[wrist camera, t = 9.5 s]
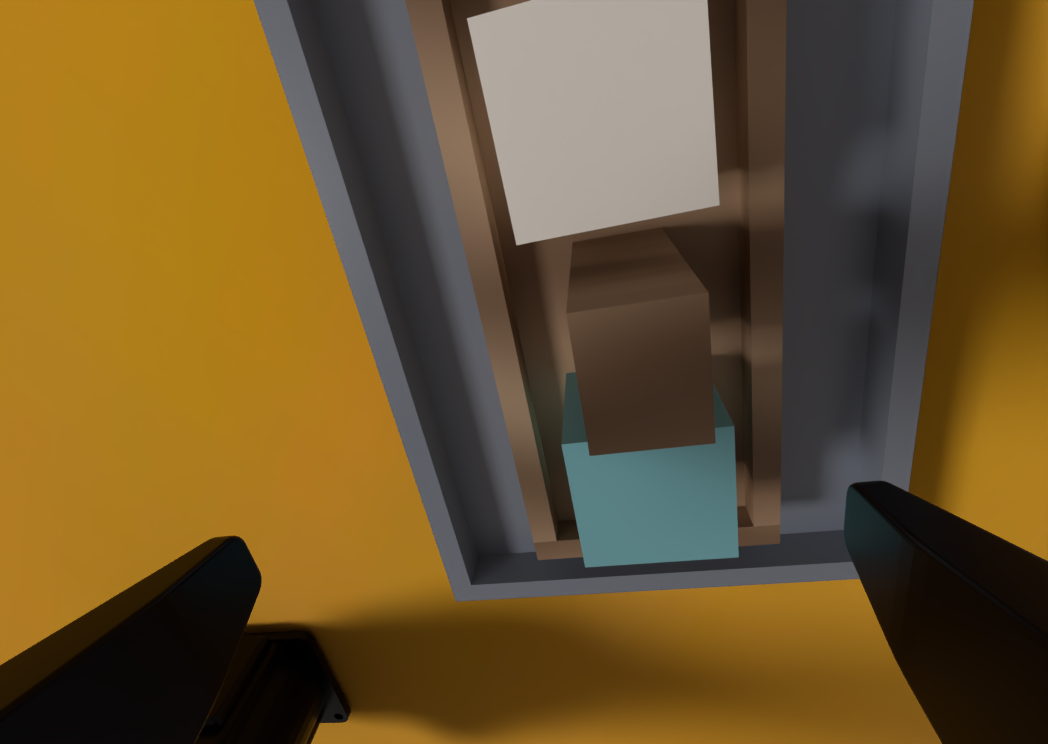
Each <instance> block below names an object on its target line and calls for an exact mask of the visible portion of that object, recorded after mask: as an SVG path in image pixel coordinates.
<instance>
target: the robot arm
mask: <svg viewBox="0 0 1048 744" xmlns="http://www.w3.org/2000/svg"><path fill="white" fill-rule="evenodd" d="M844 540H845V544H846V547H847V550H848V553H849V555H850V557H851V560H852V562H853V564H854V566H855V569H856V571H857V573H858V576H859V578H860V580H861V582H862V585H863V587H864V589H865V592H866V594H867V596H868V598H869V601H870V603H871V605H872V608H873V610H874V612H875V615H876V617H877V619H878V621H879V624H880V626H881V628H882V631H883V633H884V635H885V637H886V640H887V642H888V644H889V646H890V649H891V651H892V653H893V655H894V657H895V659H896V661H897V663H898V665H899V667H900V669H901V671H902V673H903V675H904V677H905V678H906V680H907V682H908V684H909V686H910V688H911V689H912V691H913V693H914V695H915V696H916V698H917V700H918V702H919V703H920V705H921V707H922V709H923V711H924V712H925V714H926V716H927V718H928V719H929V721H930V723H931V725H932V726H933V728H934V730H935V732H936V733H937V735H938V737H939V739H940V741H941V742H942V744H1048V561H1046V560H1044V559H1042V558H1040V557H1038V556H1036V555H1034V554H1032V553H1030V552H1028V551H1026V550H1024V549H1022V548H1020V547H1018V546H1016V545H1014V544H1012V543H1010V542H1008V541H1006V540H1004V539H1002V538H1000V537H998V536H996V535H994V534H992V533H990V532H988V531H986V530H984V529H982V528H980V527H978V526H976V525H974V524H972V523H970V522H968V521H966V520H964V519H962V518H960V517H958V516H956V515H954V514H952V513H950V512H948V511H946V510H944V509H942V508H940V507H937V506H935V505H933V504H931V503H929V502H927V501H925V500H923V499H921V498H919V497H917V496H915V495H913V494H911V493H909V492H907V491H905V490H903V489H901V488H899V487H897V486H895V485H893V484H891V483H889V482H886V481H867V482H856V483H853V484H851V485H850V486H849V487H848V489H847V494H846V506H845V519H844ZM260 588H261V573H260V571H259V569H258V567H257V565H256V563H255V561H254V559H253V557H252V555H251V553H250V551H249V549H248V547H247V545H246V543H245V542H244V540H243V539H241V538H240V537H238V536H224V537H215V538H212V539H209V540H208V541H206V542H204V543H203V544H201V545H199V546H198V547H196V548H194V549H193V550H191V551H189V552H188V553H186V554H184V555H183V556H181V557H179V558H178V559H176V560H174V561H173V562H171V563H169V564H168V565H166V566H164V567H163V568H161V569H159V570H158V571H156V572H154V573H153V574H151V575H149V576H148V577H146V578H144V579H143V580H141V581H139V582H138V583H136V584H134V585H133V586H131V587H130V588H128V589H126V590H125V591H123V592H121V593H120V594H118V595H116V596H115V597H113V598H111V599H110V600H108V601H106V602H105V603H103V604H101V605H100V606H98V607H96V608H95V609H93V610H91V611H90V612H88V613H86V614H85V615H83V616H81V617H80V618H78V619H76V620H75V621H73V622H71V623H70V624H68V625H66V626H65V627H63V628H61V629H60V630H58V631H56V632H55V633H53V634H51V635H50V636H48V637H47V638H45V639H43V640H42V641H40V642H38V643H37V644H35V645H33V646H32V647H30V648H28V649H27V650H25V651H23V652H22V653H20V654H18V655H17V656H15V657H13V658H12V659H10V660H8V661H7V662H5V663H3V664H2V665H0V744H311V742H312V740H313V738H314V735H315V733H316V731H317V728H318V726H319V724H320V723H342V722H346V721H347V720H348V717H349V715H350V712H351V709H350V707H349V705H348V703H347V701H346V699H345V697H344V695H343V693H342V691H341V689H340V687H339V685H338V683H337V681H336V679H335V678H334V676H333V674H332V672H331V670H330V668H329V666H328V664H327V662H326V660H325V658H324V656H323V654H322V652H321V650H320V648H319V646H318V644H317V642H316V640H315V638H314V637H313V636H312V635H311V634H310V633H308V632H305V631H295V632H274V633H254V634H243V633H244V630H245V627H246V625H247V622H248V620H249V617H250V614H251V612H252V609H253V607H254V604H255V602H256V599H257V596H258V594H259V591H260Z"/></svg>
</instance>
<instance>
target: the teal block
mask: <svg viewBox="0 0 1048 744" xmlns="http://www.w3.org/2000/svg"><path fill="white" fill-rule="evenodd" d="M713 396H714V417H715V438H716V443H715V444H705V445H695V446H685V447H675V448H665V449H655V450H645V451H635V452H625V453H615V454H605V455H596V456H590V455H589V449H588V443H587V437H586V431H585V425H584V419H583V413H582V407H581V401H580V395H579V388H578V382H577V376H576V372H572V373H566V385H565V400H564V414H563V429H562V444H561V445H562V450H563V455H564V460H565V466H566V471H567V476H568V481H569V486H570V491H571V497H572V502H573V507H574V512H575V517H576V522H577V528H578V533H579V538H580V543H581V548H582V554H583V559H584V564H585V567H600V566H615V565H630V564H645V563H660V562H675V561H690V560H706V559H721V558H736V557H739V550H738V521H737V491H736V462H735V432H734V424H733V422H732V420H731V418H730V416H729V414H728V412H727V410H726V408H725V406H724V404H723V402H722V400H721V398H720V396H719V394H718V392H717V390H716V388H715V386H714V384H713Z"/></svg>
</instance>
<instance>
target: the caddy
mask: <svg viewBox="0 0 1048 744" xmlns="http://www.w3.org/2000/svg"><path fill="white" fill-rule="evenodd" d="M527 1H530V0H405V2H406V6H407V10H408V14H409V19H410V23H411V27H412V31H413V35H414V40H415V44H416V48H417V52H418V57H419V61H420V65H421V69H422V73H423V78H424V82H425V86H426V90H427V95H428V99H429V103H430V107H431V111H432V116H433V120H434V124H435V128H436V132H437V137H438V141H439V145H440V149H441V154H442V158H443V162H444V166H445V170H446V175H447V179H448V183H449V187H450V192H451V196H452V200H453V204H454V208H455V213H456V217H457V221H458V225H459V230H460V234H461V238H462V242H463V246H464V251H465V255H466V259H467V263H468V268H469V272H470V276H471V280H472V284H473V289H474V293H475V297H476V301H477V306H478V310H479V314H480V318H481V322H482V327H483V331H484V335H485V339H486V343H487V348H488V352H489V356H490V360H491V365H492V369H493V373H494V377H495V381H496V386H497V390H498V394H499V398H500V403H501V407H502V411H503V415H504V419H505V424H506V428H507V432H508V436H509V441H510V445H511V449H512V453H513V457H514V462H515V466H516V470H517V474H518V479H519V483H520V487H521V491H522V495H523V500H524V504H525V508H526V512H527V517H528V521H529V525H530V529H531V533H532V538H533V542H534V546H535V550H536V554H537V559H538V560H547V559H561V558H576V557H583V554H582V548H581V543H580V538H579V533H578V528H577V522H576V517H575V512H574V507H573V502H572V497H571V491H570V486H569V481H568V476H567V471H566V466H565V460H564V455H563V450H562V445H561V444H562V429H563V414H564V400H565V385H566V373H572V372H576V376H577V382H578V388H579V395H580V401H581V407H582V413H583V419H584V425H585V431H586V437H587V443H588V449H589V455H590V456H596V455H605V454H615V453H625V452H635V451H645V450H655V449H665V448H675V447H685V446H695V445H705V444H715V443H716V438H715V417H714V396H713V384H714V386H715V388H716V390H717V392H718V394H719V396H720V398H721V400H722V402H723V404H724V406H725V408H726V410H727V412H728V414H729V416H730V418H731V420H732V422H733V424H734V432H735V462H736V491H737V521H738V546H753V545H768V544H780V508H781V425H782V343H783V261H784V179H785V97H786V14H787V0H707V3H708V20H709V37H710V54H711V70H712V87H713V104H714V121H715V137H716V154H717V171H718V188H719V204H720V205H718V206H713V207H708V208H703V209H698V210H693V211H688V212H683V213H678V214H673V215H668V216H663V217H658V218H652V219H647V220H642V221H637V222H632V223H627V224H622V225H617V226H612V227H607V228H602V229H597V230H592V231H587V232H581V233H576V234H571V235H566V236H561V237H556V238H551V239H546V240H541V241H536V242H531V243H526V244H521V245H516V241H515V236H514V232H513V227H512V223H511V218H510V214H509V209H508V204H507V200H506V195H505V191H504V186H503V182H502V177H501V172H500V168H499V163H498V159H497V154H496V149H495V145H494V140H493V136H492V131H491V127H490V122H489V117H488V113H487V108H486V104H485V99H484V95H483V90H482V85H481V81H480V76H479V72H478V67H477V63H476V58H475V53H474V49H473V44H472V40H471V35H470V31H469V26H468V21H467V18H470V17H474V16H477V15H481V14H484V13H488V12H491V11H495V10H498V9H502V8H505V7H509V6H513V5H516V4H520V3H523V2H527Z"/></svg>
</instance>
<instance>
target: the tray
mask: <svg viewBox="0 0 1048 744" xmlns="http://www.w3.org/2000/svg"><path fill="white" fill-rule="evenodd" d="M254 3H255V6H256V9H257V12H258V15H259V18H260V21H261V23H262V26H263V29H264V32H265V35H266V38H267V41H268V44H269V47H270V50H271V53H272V56H273V59H274V62H275V65H276V68H277V71H278V74H279V77H280V80H281V83H282V86H283V89H284V92H285V95H286V98H287V101H288V104H289V107H290V110H291V113H292V116H293V119H294V122H295V124H296V127H297V130H298V133H299V136H300V139H301V142H302V145H303V148H304V151H305V154H306V157H307V160H308V163H309V166H310V169H311V172H312V175H313V178H314V181H315V184H316V187H317V190H318V193H319V196H320V199H321V202H322V205H323V208H324V211H325V214H326V217H327V220H328V223H329V225H330V228H331V231H332V234H333V237H334V240H335V243H336V246H337V249H338V252H339V255H340V258H341V261H342V264H343V267H344V270H345V273H346V276H347V279H348V282H349V285H350V288H351V291H352V294H353V297H354V300H355V303H356V306H357V309H358V312H359V315H360V318H361V321H362V324H363V326H364V329H365V332H366V335H367V338H368V341H369V344H370V347H371V350H372V353H373V356H374V359H375V362H376V365H377V368H378V371H379V374H380V377H381V380H382V383H383V386H384V389H385V392H386V395H387V398H388V401H389V404H390V407H391V410H392V413H393V416H394V419H395V422H396V424H397V427H398V430H399V433H400V436H401V439H402V442H403V445H404V448H405V451H406V454H407V457H408V460H409V463H410V466H411V469H412V472H413V475H414V478H415V481H416V484H417V487H418V490H419V493H420V496H421V499H422V502H423V505H424V508H425V511H426V514H427V517H428V520H429V523H430V525H431V528H432V531H433V534H434V537H435V540H436V543H437V546H438V549H439V552H440V555H441V558H442V561H443V564H444V567H445V570H446V573H447V576H448V579H449V582H450V585H451V588H452V591H453V594H454V597H455V600H456V601H473V600H491V599H509V598H526V597H544V596H562V595H580V594H598V593H615V592H633V591H651V590H669V589H686V588H704V587H722V586H740V585H758V584H775V583H793V582H811V581H829V580H846V579H860V578H859V576H858V573H857V571H856V569H855V566H854V564H853V562H852V560H851V557H850V555H849V553H848V550H847V547H846V544H845V540H844V519H845V506H846V494H847V489H848V487H849V486H850V485H851V484H853V483H856V482H867V481H886V482H889V483H891V484H893V485H895V486H897V487H899V488H901V489H903V490H905V491H907V492H908V491H909V484H910V476H911V469H912V461H913V454H914V446H915V439H916V431H917V424H918V416H919V409H920V401H921V394H922V386H923V379H924V371H925V364H926V356H927V349H928V341H929V334H930V326H931V319H932V311H933V304H934V297H935V289H936V282H937V274H938V267H939V259H940V252H941V244H942V237H943V229H944V222H945V214H946V207H947V199H948V192H949V184H950V177H951V169H952V162H953V154H954V147H955V139H956V132H957V125H958V117H959V110H960V102H961V95H962V87H963V80H964V72H965V65H966V57H967V50H968V42H969V35H970V27H971V20H972V12H973V5H974V0H787V14H786V97H785V179H784V261H783V343H782V425H781V508H780V544H768V545H753V546H738V550H739V557H736V558H721V559H706V560H690V561H675V562H660V563H645V564H630V565H615V566H600V567H585V564H584V559H583V557H576V558H561V559H547V560H538V559H537V554H536V550H535V546H534V542H533V538H532V533H531V529H530V525H529V521H528V517H527V512H526V508H525V504H524V500H523V495H522V491H521V487H520V483H519V479H518V474H517V470H516V466H515V462H514V457H513V453H512V449H511V445H510V441H509V436H508V432H507V428H506V424H505V419H504V415H503V411H502V407H501V403H500V398H499V394H498V390H497V386H496V381H495V377H494V373H493V369H492V365H491V360H490V356H489V352H488V348H487V343H486V339H485V335H484V331H483V327H482V322H481V318H480V314H479V310H478V306H477V301H476V297H475V293H474V289H473V284H472V280H471V276H470V272H469V268H468V263H467V259H466V255H465V251H464V246H463V242H462V238H461V234H460V230H459V225H458V221H457V217H456V213H455V208H454V204H453V200H452V196H451V192H450V187H449V183H448V179H447V175H446V170H445V166H444V162H443V158H442V154H441V149H440V145H439V141H438V137H437V132H436V128H435V124H434V120H433V116H432V111H431V107H430V103H429V99H428V95H427V90H426V86H425V82H424V78H423V73H422V69H421V65H420V61H419V57H418V52H417V48H416V44H415V40H414V35H413V31H412V27H411V23H410V19H409V14H408V10H407V6H406V2H405V0H254Z"/></svg>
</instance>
